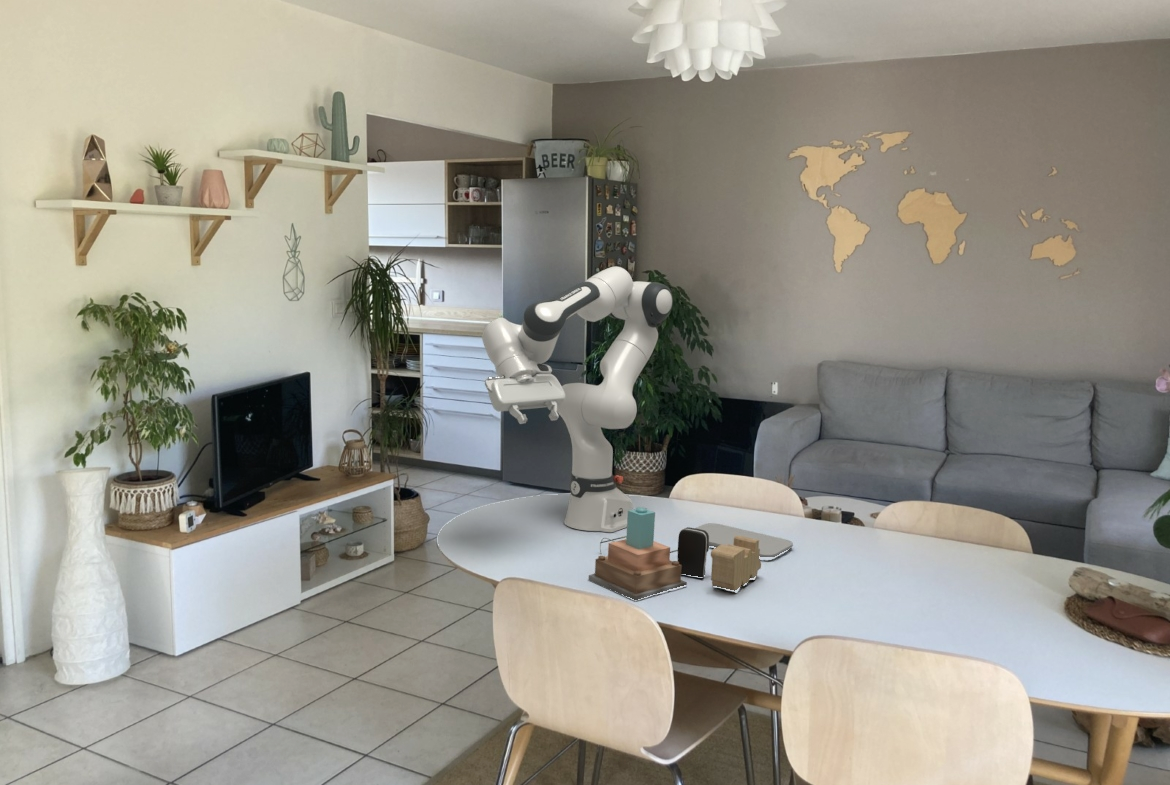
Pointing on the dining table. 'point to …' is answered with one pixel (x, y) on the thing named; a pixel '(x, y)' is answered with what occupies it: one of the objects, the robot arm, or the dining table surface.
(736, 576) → the toy train
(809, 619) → the dining table surface
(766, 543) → the tablet
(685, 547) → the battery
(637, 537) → the teal brick
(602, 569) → the wooden stepped box
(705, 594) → the dining table surface
